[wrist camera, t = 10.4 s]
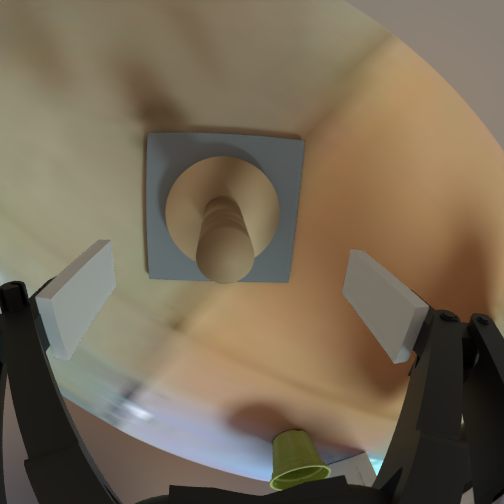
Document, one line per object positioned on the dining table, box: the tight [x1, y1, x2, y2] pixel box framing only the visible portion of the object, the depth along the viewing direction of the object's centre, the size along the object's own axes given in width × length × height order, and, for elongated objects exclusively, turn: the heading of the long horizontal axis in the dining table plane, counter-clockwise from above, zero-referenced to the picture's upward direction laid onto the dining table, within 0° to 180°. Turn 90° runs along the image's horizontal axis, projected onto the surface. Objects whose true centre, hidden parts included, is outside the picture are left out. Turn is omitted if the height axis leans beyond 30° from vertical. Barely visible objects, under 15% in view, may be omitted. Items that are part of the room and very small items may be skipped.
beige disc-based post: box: [165, 156, 280, 284], centre depth 21 cm, size 10×10×11 cm
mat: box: [146, 132, 305, 283], centre depth 27 cm, size 14×14×1 cm
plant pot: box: [270, 430, 331, 491], centre depth 37 cm, size 9×9×9 cm
